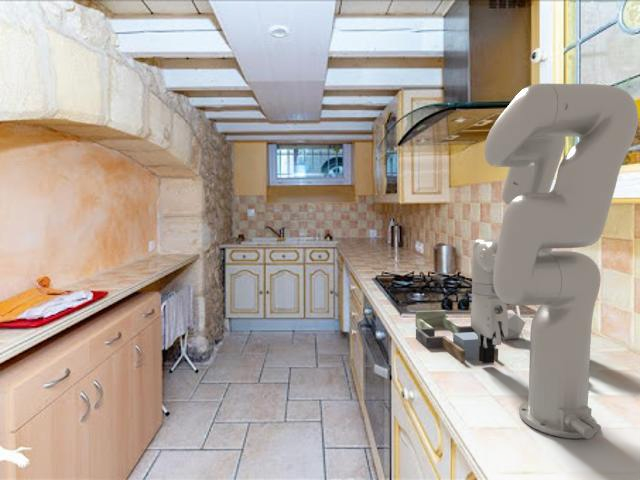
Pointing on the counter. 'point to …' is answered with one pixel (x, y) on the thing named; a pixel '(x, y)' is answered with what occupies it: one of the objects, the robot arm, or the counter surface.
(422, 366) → the counter surface
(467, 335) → the block
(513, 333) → the grey faceted solid
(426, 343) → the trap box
